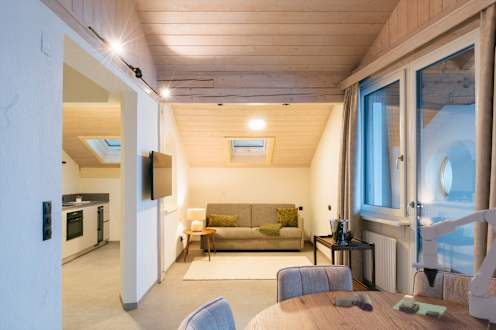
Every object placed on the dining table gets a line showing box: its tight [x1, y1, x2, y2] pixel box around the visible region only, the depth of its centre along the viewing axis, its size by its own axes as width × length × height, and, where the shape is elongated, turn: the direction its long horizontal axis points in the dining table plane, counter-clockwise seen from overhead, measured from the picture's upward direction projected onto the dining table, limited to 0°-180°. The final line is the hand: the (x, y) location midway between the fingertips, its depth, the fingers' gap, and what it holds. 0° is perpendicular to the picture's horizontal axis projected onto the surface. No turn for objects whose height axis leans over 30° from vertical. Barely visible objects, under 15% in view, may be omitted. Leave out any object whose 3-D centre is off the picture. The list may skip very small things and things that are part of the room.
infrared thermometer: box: [334, 293, 374, 311], centre depth 148 cm, size 5×12×15 cm
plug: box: [402, 294, 415, 308], centre depth 143 cm, size 3×4×5 cm, turn 141°
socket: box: [398, 302, 419, 314], centre depth 143 cm, size 6×8×2 cm
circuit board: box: [391, 298, 448, 319], centre depth 144 cm, size 18×16×2 cm
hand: (431, 286), depth 146 cm, fingers closed
